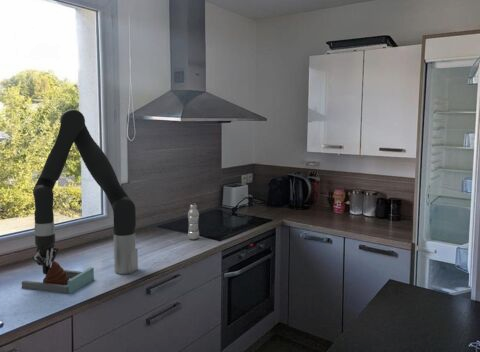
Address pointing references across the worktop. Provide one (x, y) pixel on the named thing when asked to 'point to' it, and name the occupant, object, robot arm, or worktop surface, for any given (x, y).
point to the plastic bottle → (193, 222)
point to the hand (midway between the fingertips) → (46, 273)
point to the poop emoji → (56, 275)
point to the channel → (74, 284)
